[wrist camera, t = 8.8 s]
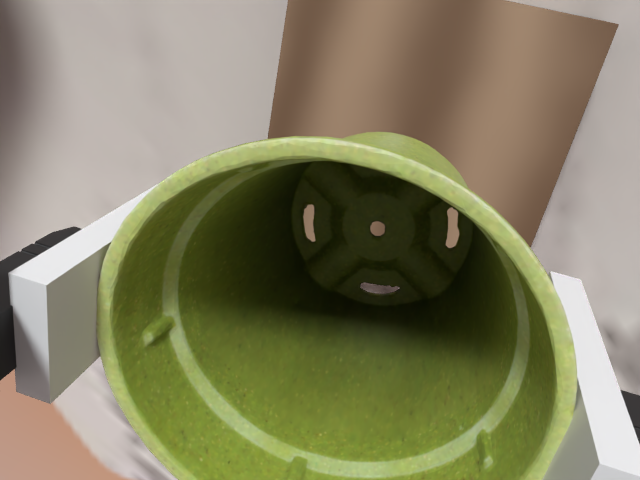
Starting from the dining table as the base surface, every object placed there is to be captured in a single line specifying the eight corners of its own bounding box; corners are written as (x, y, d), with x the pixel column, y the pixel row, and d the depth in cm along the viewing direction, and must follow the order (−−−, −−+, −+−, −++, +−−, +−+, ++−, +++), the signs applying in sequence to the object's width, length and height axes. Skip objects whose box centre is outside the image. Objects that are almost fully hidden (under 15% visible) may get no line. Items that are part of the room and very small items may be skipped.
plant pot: (227, 80, 18) (40, 147, 10) (542, 62, 16) (607, 132, 8) (262, 332, 22) (144, 522, 14) (524, 350, 19) (556, 591, 11)
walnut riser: (270, 216, 34) (253, 235, 31) (312, -40, 28) (294, -44, 25) (503, 281, 32) (506, 308, 29) (604, 21, 26) (618, 24, 23)
